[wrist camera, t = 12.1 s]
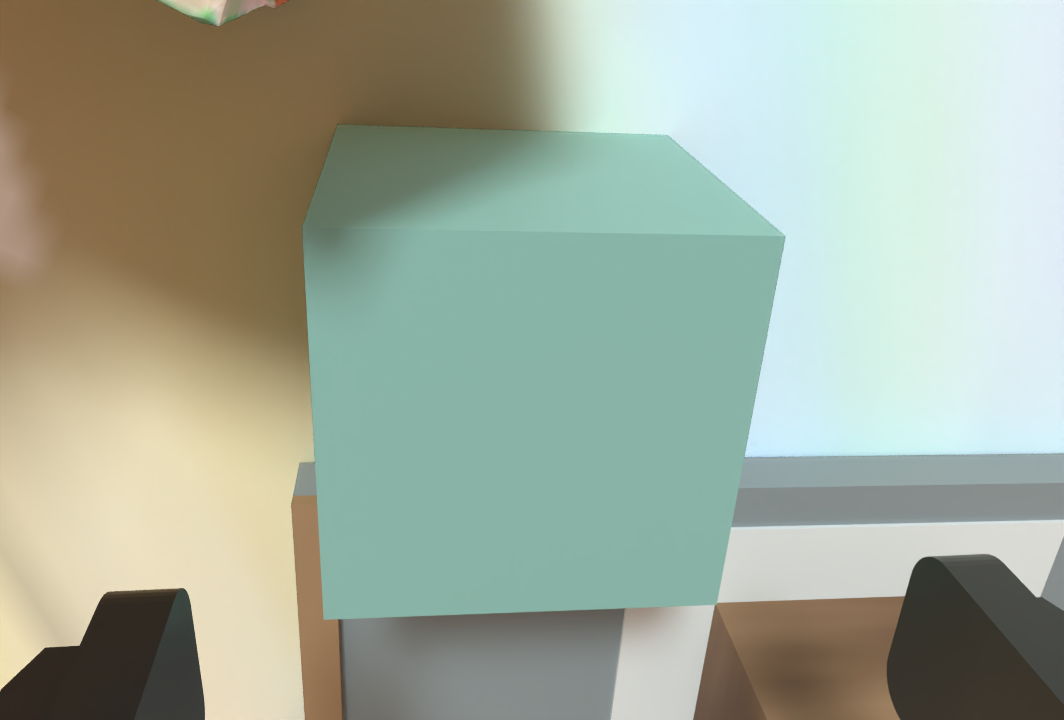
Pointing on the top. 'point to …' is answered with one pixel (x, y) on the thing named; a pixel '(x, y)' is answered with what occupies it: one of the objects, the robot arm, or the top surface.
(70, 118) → the top surface
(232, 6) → the stack of blocks
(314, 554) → the blueprint board
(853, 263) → the top surface
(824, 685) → the walnut block
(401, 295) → the teal block
